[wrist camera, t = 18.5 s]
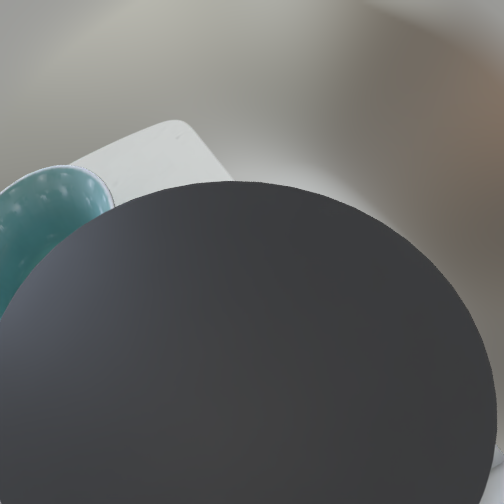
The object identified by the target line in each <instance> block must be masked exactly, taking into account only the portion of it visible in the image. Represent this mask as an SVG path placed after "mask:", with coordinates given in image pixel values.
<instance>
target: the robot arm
mask: <svg viewBox="0 0 504 504" xmlns="http://www.w3.org/2000/svg"><path fill="white" fill-rule="evenodd" d="M0 504H1V502H0ZM479 504H504V454H503V452H502V451H501V450H500V449H499V447H498V446H497V445H496V443H495V451H494V458H493V463H492V467H491V471H490V474H489V478H488V481H487V485H486V488H485V491H484V494H483V496H482V499H481V501H480V503H479Z"/></svg>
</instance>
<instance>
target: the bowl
mask: <svg viewBox="0 0 504 504" xmlns="http://www.w3.org/2000/svg"><path fill="white" fill-rule="evenodd" d="M113 208H115V204H114V200H113V197H112V195H111V192H110V190H109V189H108V187H107V185H106V184H105V183H104V181H103V180H102V179H101V178H100V177H99V176H97V175H96V174H95V173H93V172H92V171H90V170H88V169H85V168H82V167H79V166H73V165H58V166H51V167H47V168H43V169H40V170H37V171H34V172H32V173H30V174H28V175H25V176H24V177H22V178H20V179H19V180H17V181H16V182H14V183H13V184H11V185H10V186H8V187H7V188H6V189H4V190H3V191H2V192H1V193H0V319H1V317H2V315H3V313H4V312H5V310H6V308H7V306H8V304H9V303H10V301H11V299H12V298H13V296H14V294H15V292H16V291H17V290H18V288H19V287H20V285H21V284H22V283H23V281H24V280H25V279H26V278H27V276H28V275H29V274H30V272H31V271H32V270H33V269H34V267H35V266H36V265H37V264H38V263H39V262H40V261H41V260H42V259H43V258H44V257H45V256H46V255H47V254H48V253H49V252H50V251H51V250H52V249H53V248H54V247H55V246H56V245H58V244H59V243H60V242H61V241H63V240H64V239H65V238H66V237H68V236H69V235H70V234H71V233H73V232H74V231H75V230H77V229H78V228H79V227H81V226H83V225H84V224H86V223H88V222H89V221H91V220H92V219H94V218H96V217H97V216H99V215H101V214H103V213H104V212H106V211H108V210H110V209H113Z"/></svg>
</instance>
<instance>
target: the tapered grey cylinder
mask: <svg viewBox="0 0 504 504" xmlns="http://www.w3.org/2000/svg"><path fill="white" fill-rule="evenodd" d="M496 434H497V403H496V393H495V387H494V381H493V375H492V369H491V366H490V362H489V360H488V356H487V353H486V350H485V347H484V344H483V341H482V338H481V336H480V334H479V332H478V329H477V327H476V325H475V323H474V321H473V319H472V317H471V315H470V313H469V311H468V309H467V308H466V307H465V305H464V303H463V302H462V300H461V299H460V297H459V296H458V294H457V292H456V291H455V290H454V288H453V287H452V285H451V284H450V283H449V282H448V281H447V279H446V278H445V277H444V276H443V274H442V273H441V272H440V271H439V270H438V269H437V268H436V266H434V264H433V263H432V262H431V261H430V260H429V259H428V258H427V257H426V256H424V255H423V254H422V253H421V252H420V251H419V250H418V249H417V248H415V246H413V245H412V244H411V243H410V242H409V241H408V240H406V239H405V238H404V237H402V236H401V235H399V234H398V233H396V232H395V231H393V230H392V229H391V228H389V227H388V226H386V225H385V224H383V223H382V222H380V221H378V220H377V219H375V218H373V217H371V216H369V215H367V214H365V213H364V212H362V211H360V210H358V209H356V208H354V207H352V206H349V205H346V204H344V203H342V202H339V201H337V200H334V199H332V198H329V197H326V196H324V195H320V194H317V193H313V192H309V191H305V190H301V189H298V188H294V187H288V186H282V185H275V184H269V183H262V182H242V181H241V182H240V181H221V182H208V183H196V184H190V185H185V186H180V187H174V188H169V189H164V190H161V191H158V192H154V193H151V194H148V195H145V196H142V197H139V198H136V199H133V200H131V201H128V202H126V203H124V204H122V205H119V206H117V207H115V208H113V209H110V210H108V211H106V212H104V213H103V214H101V215H99V216H97V217H96V218H94V219H92V220H91V221H89V222H88V223H86V224H84V225H83V226H81V227H79V228H78V229H77V230H75V231H74V232H73V233H71V234H70V235H69V236H68V237H66V238H65V239H64V240H63V241H61V242H60V243H59V244H58V245H56V246H55V247H54V248H53V249H52V250H51V251H50V252H49V253H48V254H47V255H46V256H45V257H44V258H43V259H42V260H41V261H40V262H39V263H38V264H37V265H36V266H35V267H34V269H33V270H32V271H31V272H30V274H29V275H28V276H27V278H26V279H25V280H24V281H23V283H22V284H21V285H20V287H19V288H18V290H17V291H16V292H15V294H14V296H13V298H12V299H11V301H10V303H9V304H8V306H7V308H6V310H5V312H4V313H3V315H2V317H1V319H0V502H1V504H479V503H480V501H481V499H482V496H483V494H484V491H485V488H486V485H487V481H488V478H489V474H490V471H491V467H492V463H493V458H494V451H495V443H496Z"/></svg>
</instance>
